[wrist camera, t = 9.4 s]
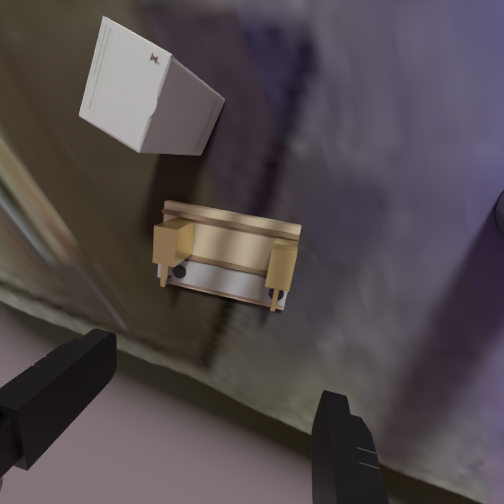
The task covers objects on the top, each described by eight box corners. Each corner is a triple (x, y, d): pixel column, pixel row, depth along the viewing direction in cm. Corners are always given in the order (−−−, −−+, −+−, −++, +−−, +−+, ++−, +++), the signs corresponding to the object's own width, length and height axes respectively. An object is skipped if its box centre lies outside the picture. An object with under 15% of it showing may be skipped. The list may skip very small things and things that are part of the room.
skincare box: (186, 75, 35) (101, 5, 20) (229, 101, 35) (175, 50, 20) (162, 136, 38) (72, 114, 23) (202, 160, 38) (137, 153, 23)
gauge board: (301, 225, 38) (300, 237, 31) (283, 305, 42) (279, 332, 35) (169, 200, 40) (140, 206, 33) (165, 278, 44) (138, 298, 37)
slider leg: (195, 221, 38) (176, 230, 33) (190, 273, 41) (172, 289, 35) (175, 217, 39) (154, 225, 33) (172, 269, 41) (151, 284, 36)
